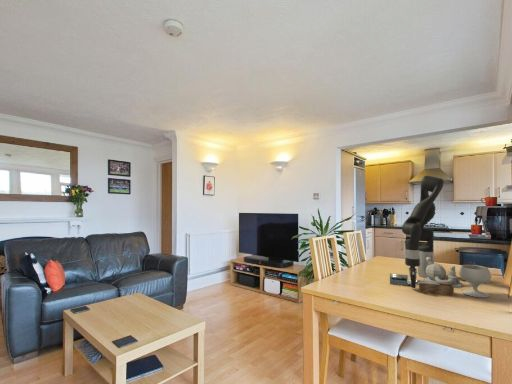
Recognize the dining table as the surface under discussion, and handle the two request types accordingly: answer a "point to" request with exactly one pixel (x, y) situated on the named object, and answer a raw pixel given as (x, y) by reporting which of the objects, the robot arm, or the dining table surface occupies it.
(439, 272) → the grey faceted sculpture
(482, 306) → the dining table surface
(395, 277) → the V-block
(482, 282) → the chalice
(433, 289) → the grooved beam
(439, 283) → the axle
